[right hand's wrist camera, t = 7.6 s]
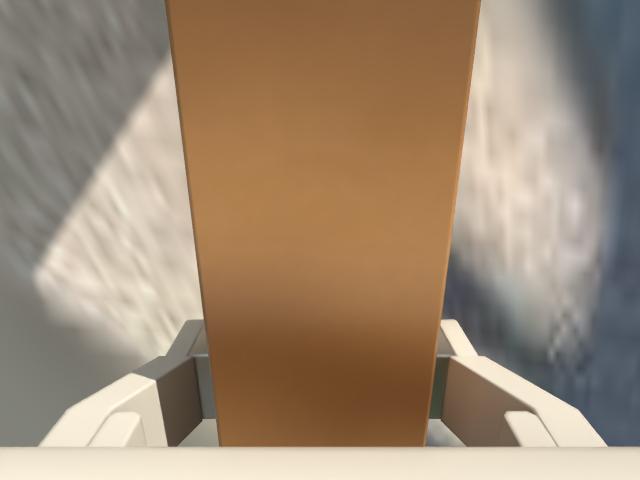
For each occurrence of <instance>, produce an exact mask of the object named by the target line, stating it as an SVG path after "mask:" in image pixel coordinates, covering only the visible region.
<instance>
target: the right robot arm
mask: <svg viewBox="0 0 640 480" xmlns="http://www.w3.org/2000/svg"><path fill="white" fill-rule="evenodd" d="M202 419H216V415H215V406H214V398H213V390H212V382H211V374H210V365H209V357H208V349H207V341H206V333H205V324H204V319H202V320H187V321H186V322H185V324H184V325H183V327H182V329H181V330H180V332H179V334H178V335H177V337H176V339H175V340H174V342H173V344H172V346H171V347H170V349H169V351H168V352H167V354H166V356H159V357H157V358H156V359H154V360H152V361H150V362H149V363H147V364H145V365H143V366H142V367H140V368H138V369H136V370H135V371H133V372H131V373H129V374H128V375H126V376H124V377H122V378H121V379H119V380H117V381H115V382H114V383H112V384H110V385H108V386H107V387H105V388H103V389H102V390H100V391H98V392H96V393H95V394H93V395H91V396H89V397H88V398H86V399H84V400H82V401H81V402H79V403H77V404H75V405H74V406H72V407H70V408H68V409H67V410H66V411H65V412H64V414H63V415H62V416H61V417H60V419H59V420H58V421H57V422H56V424H55V425H54V426H53V427H52V428H51V430H50V431H49V432H48V434H47V435H46V436H45V437H44V438H43V440H42V441H41V442H40V443H39V445H38V446H37V447H0V480H640V447H608V446H607V445H606V444H605V442H604V441H603V440H602V439H601V437H600V436H599V435H598V434H597V433H596V431H595V430H594V429H593V428H592V426H591V425H590V424H589V423H588V421H587V420H586V419H585V418H584V416H583V415H582V414H581V413H580V412H579V410H577V409H576V408H574V407H572V406H570V405H569V404H567V403H565V402H563V401H562V400H560V399H558V398H556V397H555V396H553V395H551V394H549V393H548V392H546V391H544V390H542V389H541V388H539V387H537V386H535V385H534V384H532V383H530V382H528V381H527V380H525V379H523V378H521V377H520V376H518V375H516V374H514V373H513V372H511V371H509V370H507V369H506V368H504V367H502V366H500V365H499V364H497V363H495V362H493V361H492V360H490V359H488V358H486V357H484V356H478V355H477V353H476V352H475V350H474V348H473V347H472V345H471V343H470V342H469V340H468V339H467V337H466V335H465V334H464V332H463V330H462V329H461V327H460V326H459V324H458V322H457V321H456V320H454V319H448V320H441V324H440V331H439V339H438V347H437V355H436V363H435V371H434V379H433V387H432V395H431V403H430V411H429V419H441V421H442V422H443V423H444V424H445V425H446V426H447V427H448V428H449V429H450V430H451V431H452V432H453V433H454V434H455V435H456V436H457V437H458V438H459V439H460V440H461V441H462V442H463V443H464V444H465V445H466V446H467V447H177V446H178V445H179V444H180V443H181V442H182V441H183V440H184V439H185V438H186V437H187V436H188V435H189V434H190V433H191V432H192V431H193V430H194V429H195V428H196V427H197V426H198V425H199V424H200V423H201V422H202Z"/></svg>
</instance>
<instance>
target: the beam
mask: <svg viewBox="0 0 640 480" xmlns="http://www.w3.org/2000/svg"><path fill="white" fill-rule="evenodd" d="M165 5H166V13H167V21H168V29H169V38H170V46H171V54H172V62H173V70H174V79H175V87H176V95H177V103H178V111H179V120H180V128H181V136H182V144H183V152H184V161H185V169H186V177H187V185H188V193H189V201H190V210H191V218H192V226H193V234H194V242H195V251H196V259H197V267H198V275H199V283H200V292H201V300H202V308H203V316H204V324H205V333H206V341H207V349H208V357H209V365H210V374H211V382H212V390H213V398H214V406H215V415H216V423H217V431H218V439H219V447H425V443H426V435H427V427H428V419H429V411H430V403H431V395H432V387H433V379H434V371H435V363H436V355H437V347H438V339H439V331H440V324H441V316H442V308H443V300H444V292H445V284H446V276H447V268H448V260H449V252H450V244H451V236H452V228H453V220H454V212H455V204H456V196H457V188H458V180H459V172H460V164H461V156H462V148H463V140H464V132H465V124H466V117H467V109H468V101H469V93H470V85H471V77H472V69H473V61H474V53H475V45H476V37H477V29H478V21H479V13H480V5H481V0H165Z"/></svg>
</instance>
